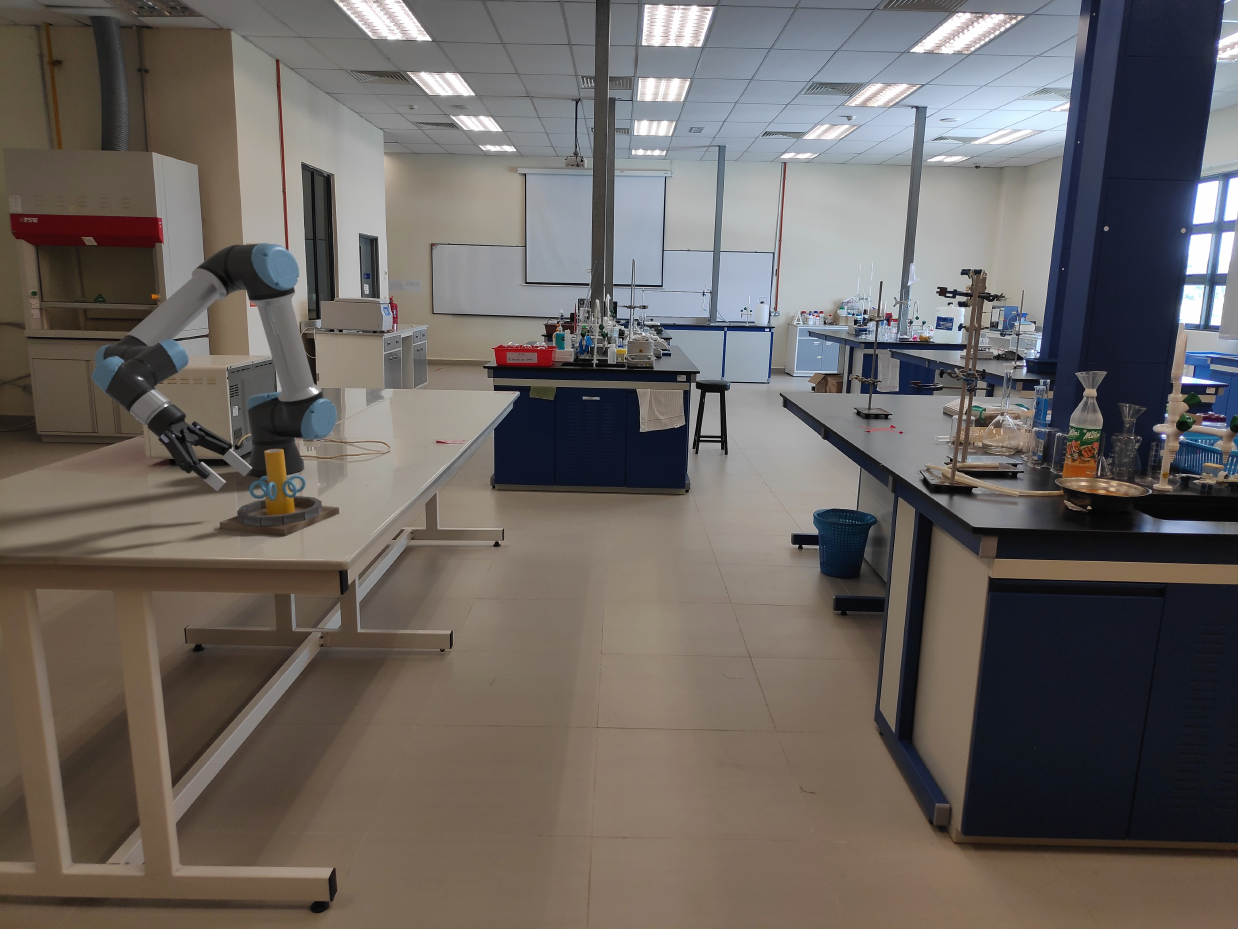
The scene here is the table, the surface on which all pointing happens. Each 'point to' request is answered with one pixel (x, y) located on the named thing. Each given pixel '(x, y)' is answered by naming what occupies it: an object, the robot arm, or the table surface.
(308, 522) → the hub board
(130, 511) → the table surface
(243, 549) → the table surface
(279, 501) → the cylinder
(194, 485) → the table surface
